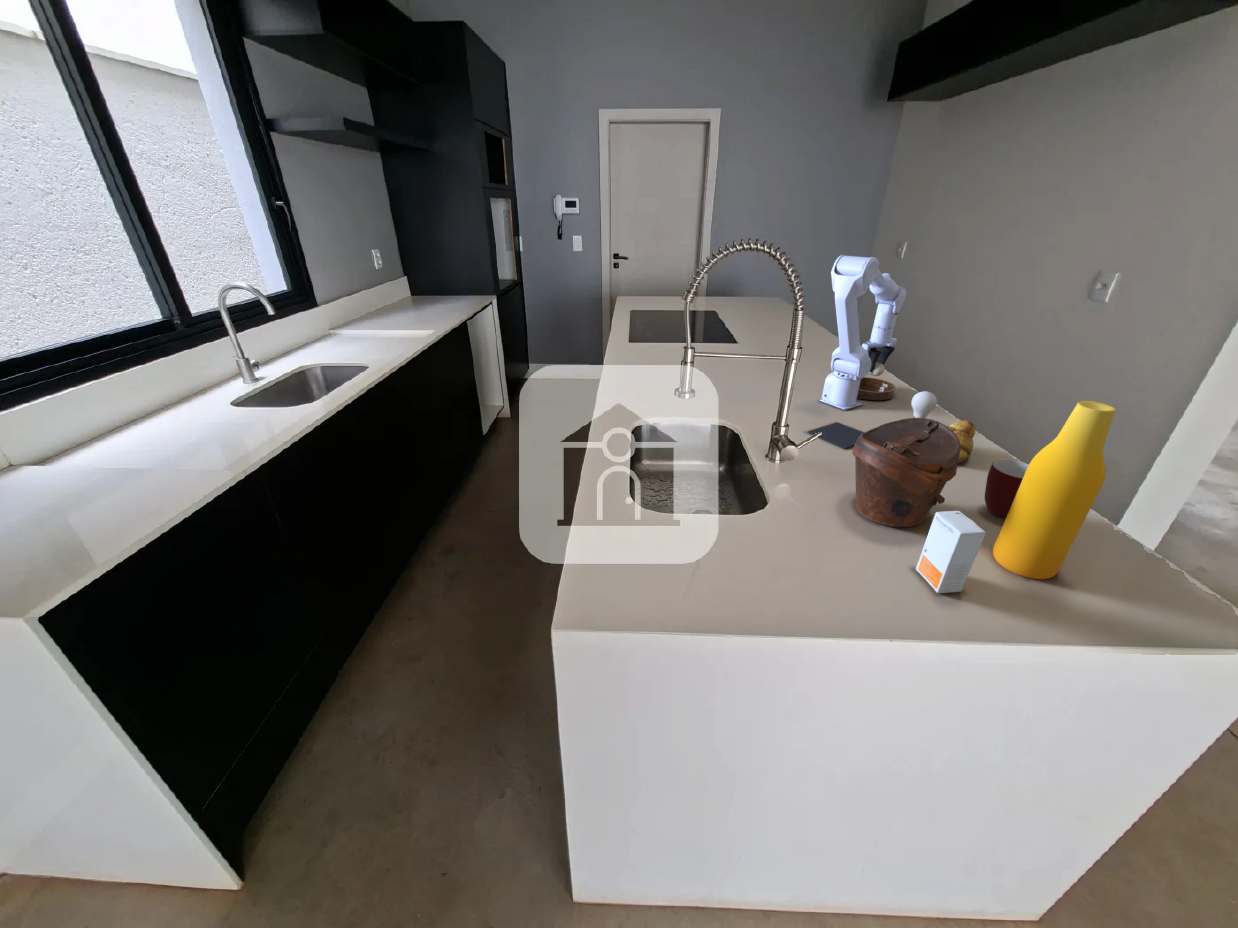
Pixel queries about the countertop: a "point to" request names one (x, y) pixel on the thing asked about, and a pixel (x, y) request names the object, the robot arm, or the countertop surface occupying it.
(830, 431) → the mat
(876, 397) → the bowl
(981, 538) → the cosmetic box
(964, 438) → the bread roll
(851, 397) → the robot arm
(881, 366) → the white grooved oval
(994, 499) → the mug
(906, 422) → the case
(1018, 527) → the beer bottle
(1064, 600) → the countertop surface
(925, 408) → the light bulb
